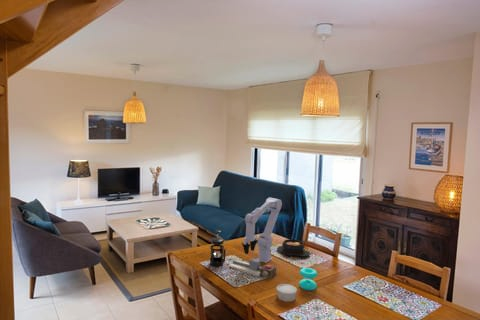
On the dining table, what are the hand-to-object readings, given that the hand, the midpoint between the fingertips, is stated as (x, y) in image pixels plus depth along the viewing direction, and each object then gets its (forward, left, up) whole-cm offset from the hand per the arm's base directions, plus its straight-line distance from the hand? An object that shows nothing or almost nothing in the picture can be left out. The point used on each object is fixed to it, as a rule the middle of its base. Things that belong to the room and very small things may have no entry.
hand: (249, 252), depth 217 cm
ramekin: (+24, +38, -10) cm, 46 cm away
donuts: (+5, +43, -10) cm, 44 cm away
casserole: (-41, +14, -10) cm, 44 cm away
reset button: (+5, +17, -8) cm, 19 cm away
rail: (+5, +2, -9) cm, 11 cm away
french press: (+11, -18, -10) cm, 23 cm away
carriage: (+5, +7, -8) cm, 12 cm away
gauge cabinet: (+5, +17, -9) cm, 20 cm away
